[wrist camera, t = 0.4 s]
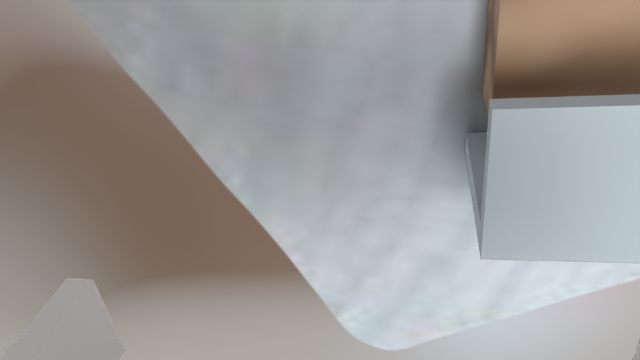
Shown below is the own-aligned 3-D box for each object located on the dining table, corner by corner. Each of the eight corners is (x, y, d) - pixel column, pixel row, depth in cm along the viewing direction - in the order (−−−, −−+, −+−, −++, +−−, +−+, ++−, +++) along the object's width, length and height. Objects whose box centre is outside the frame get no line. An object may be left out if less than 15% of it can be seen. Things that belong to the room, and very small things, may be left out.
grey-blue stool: (470, 32, 33) (492, 109, 23) (711, 17, 30) (856, 99, 20) (464, 151, 38) (480, 259, 28) (673, 148, 35) (774, 267, 25)
